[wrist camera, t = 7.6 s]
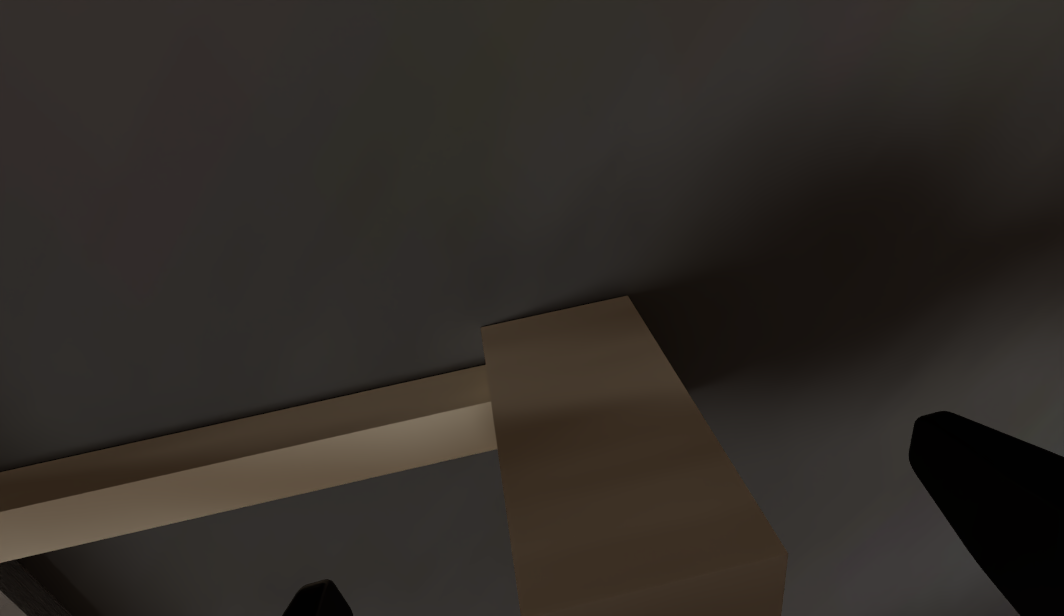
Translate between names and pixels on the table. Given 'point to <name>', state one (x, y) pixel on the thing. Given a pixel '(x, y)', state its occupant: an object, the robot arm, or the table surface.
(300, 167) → the table surface
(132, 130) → the table surface
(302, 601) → the robot arm
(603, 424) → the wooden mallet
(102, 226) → the table surface
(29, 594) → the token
